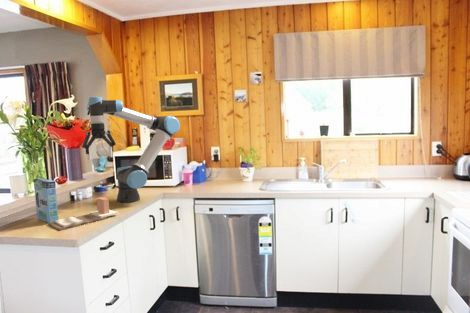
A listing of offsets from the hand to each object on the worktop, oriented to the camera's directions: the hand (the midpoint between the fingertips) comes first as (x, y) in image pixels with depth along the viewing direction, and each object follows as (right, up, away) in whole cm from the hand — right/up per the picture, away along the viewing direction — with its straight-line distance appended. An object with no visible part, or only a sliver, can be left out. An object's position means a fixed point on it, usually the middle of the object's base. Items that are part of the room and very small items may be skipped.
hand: (100, 158), depth 221 cm
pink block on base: (+6, -32, -11) cm, 34 cm away
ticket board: (-4, -35, -22) cm, 41 cm away
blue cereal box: (-24, -35, -15) cm, 45 cm away
